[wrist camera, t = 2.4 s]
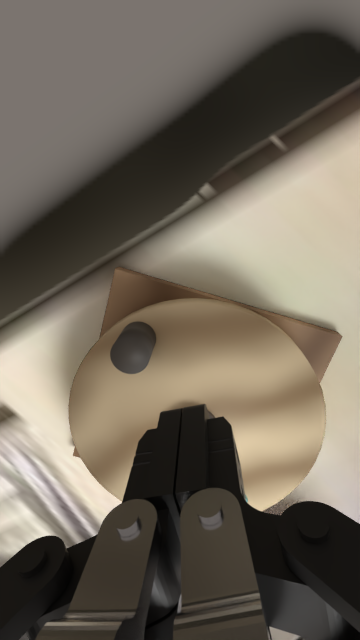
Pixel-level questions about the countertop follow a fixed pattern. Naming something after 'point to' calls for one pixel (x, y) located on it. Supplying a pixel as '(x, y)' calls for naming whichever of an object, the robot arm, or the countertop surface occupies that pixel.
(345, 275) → the countertop surface
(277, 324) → the mount
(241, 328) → the handwheel
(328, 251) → the countertop surface
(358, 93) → the countertop surface
